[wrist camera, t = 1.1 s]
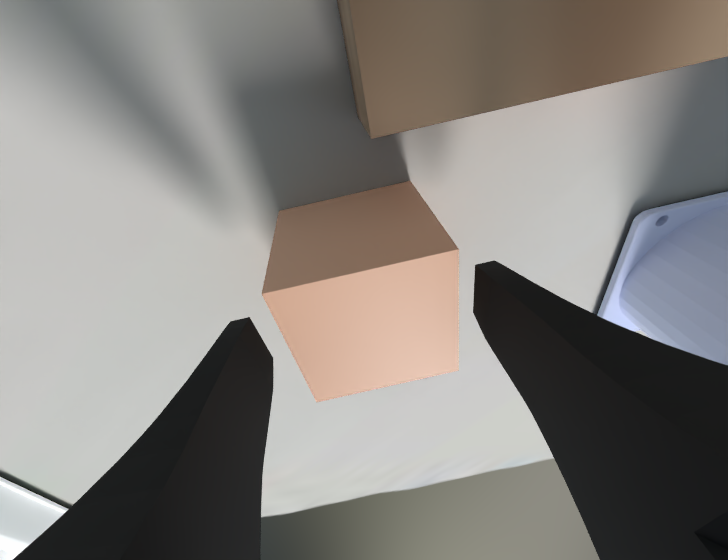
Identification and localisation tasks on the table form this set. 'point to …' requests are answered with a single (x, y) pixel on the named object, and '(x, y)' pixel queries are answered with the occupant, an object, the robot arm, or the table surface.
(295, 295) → the cube
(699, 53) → the base block
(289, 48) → the table surface
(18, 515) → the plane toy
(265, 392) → the robot arm
